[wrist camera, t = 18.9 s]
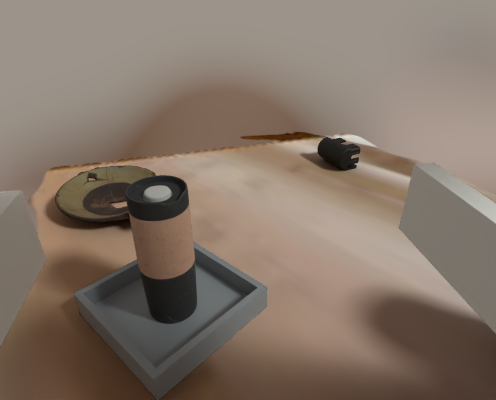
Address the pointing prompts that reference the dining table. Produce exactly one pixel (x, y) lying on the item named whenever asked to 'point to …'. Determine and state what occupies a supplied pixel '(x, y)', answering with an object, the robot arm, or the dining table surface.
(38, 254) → the robot arm
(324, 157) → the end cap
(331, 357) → the dining table surface
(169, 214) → the travel mug
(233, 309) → the parts tray
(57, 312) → the dining table surface
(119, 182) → the oil lamp
